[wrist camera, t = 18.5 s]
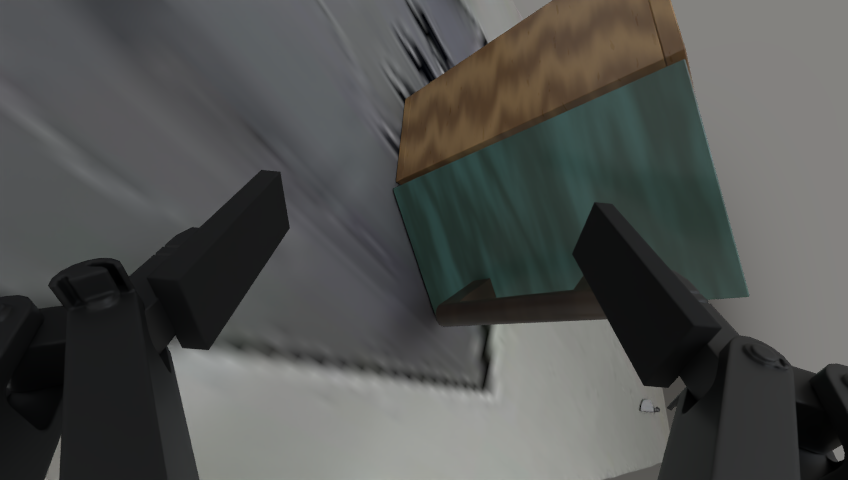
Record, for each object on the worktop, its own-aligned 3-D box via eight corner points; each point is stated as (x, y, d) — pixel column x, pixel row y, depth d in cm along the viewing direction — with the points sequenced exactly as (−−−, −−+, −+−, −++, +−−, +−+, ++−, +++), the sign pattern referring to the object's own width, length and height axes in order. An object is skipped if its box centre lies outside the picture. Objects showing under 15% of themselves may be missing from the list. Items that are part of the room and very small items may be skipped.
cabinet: (473, 228, 44) (710, 164, 28) (395, 181, 34) (685, 48, 19) (474, 157, 48) (682, 68, 32) (405, 99, 38) (650, -67, 23)
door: (394, 349, 30) (771, 354, 14) (342, 198, 29) (684, 31, 14) (441, 314, 35) (747, 291, 20) (399, 187, 34) (685, 61, 19)
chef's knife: (636, 397, 86) (639, 410, 84) (641, 397, 85) (644, 411, 84) (653, 400, 98) (656, 411, 97) (658, 400, 97) (661, 412, 96)
